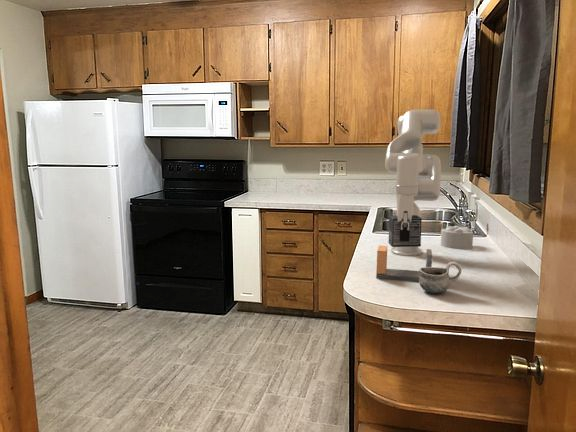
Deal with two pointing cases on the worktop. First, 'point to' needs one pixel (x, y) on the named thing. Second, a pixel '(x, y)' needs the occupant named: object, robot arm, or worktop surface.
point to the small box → (396, 227)
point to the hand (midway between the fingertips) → (404, 238)
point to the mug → (437, 278)
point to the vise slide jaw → (381, 259)
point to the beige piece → (457, 237)
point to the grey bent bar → (405, 272)
